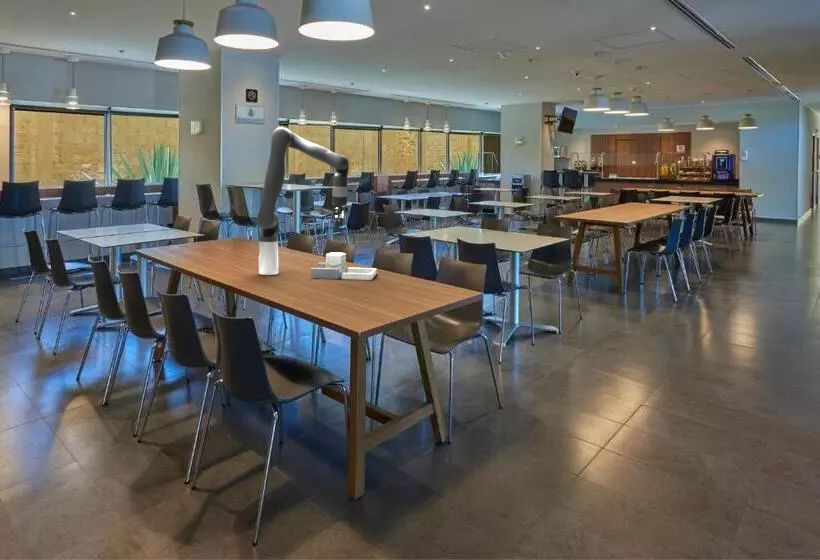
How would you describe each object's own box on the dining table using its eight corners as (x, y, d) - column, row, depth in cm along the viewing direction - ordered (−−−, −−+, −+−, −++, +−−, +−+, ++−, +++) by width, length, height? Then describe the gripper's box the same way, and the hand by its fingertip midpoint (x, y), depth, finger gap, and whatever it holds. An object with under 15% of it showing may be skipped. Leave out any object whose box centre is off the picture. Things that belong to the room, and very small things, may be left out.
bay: (310, 277, 307) (310, 268, 306) (319, 271, 324) (319, 262, 323) (337, 279, 305) (337, 269, 304) (344, 272, 323) (344, 263, 322)
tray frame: (342, 278, 306) (342, 273, 305) (348, 273, 322) (348, 267, 321) (371, 280, 305) (371, 274, 304) (376, 274, 320) (376, 268, 320)
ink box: (341, 277, 309) (341, 255, 307) (325, 276, 311) (325, 254, 309) (346, 274, 318) (346, 252, 315) (330, 273, 319) (330, 252, 317)
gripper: (335, 194, 312) (334, 225, 315) (329, 195, 298) (328, 228, 301) (349, 195, 311) (348, 226, 315) (344, 196, 297) (343, 229, 301)
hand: (338, 227), depth 308 cm, fingers open, 8 cm apart
